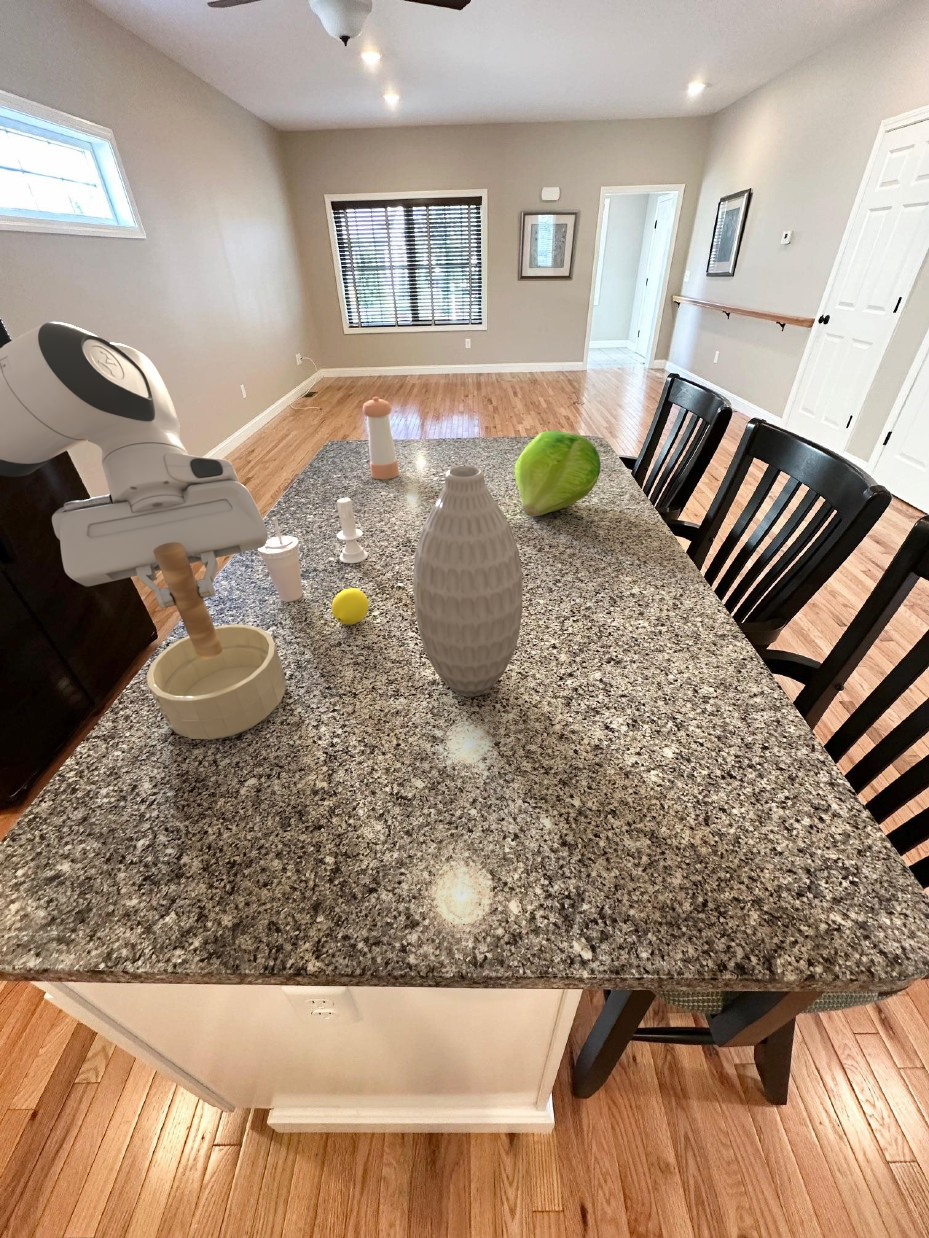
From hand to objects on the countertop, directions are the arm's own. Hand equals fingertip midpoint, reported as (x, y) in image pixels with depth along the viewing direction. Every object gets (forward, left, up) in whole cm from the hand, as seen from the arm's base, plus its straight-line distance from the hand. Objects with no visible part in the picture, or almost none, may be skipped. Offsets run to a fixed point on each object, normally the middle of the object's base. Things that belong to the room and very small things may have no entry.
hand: (188, 600), depth 57 cm
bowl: (0, +1, -16) cm, 16 cm away
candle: (+28, +29, -16) cm, 43 cm away
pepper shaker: (+52, +68, -16) cm, 87 cm away
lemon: (+20, +9, -16) cm, 27 cm away
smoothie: (+14, +22, -16) cm, 30 cm away
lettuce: (+74, +26, -16) cm, 80 cm away
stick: (0, +1, -8) cm, 8 cm away
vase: (+28, -13, -16) cm, 35 cm away
